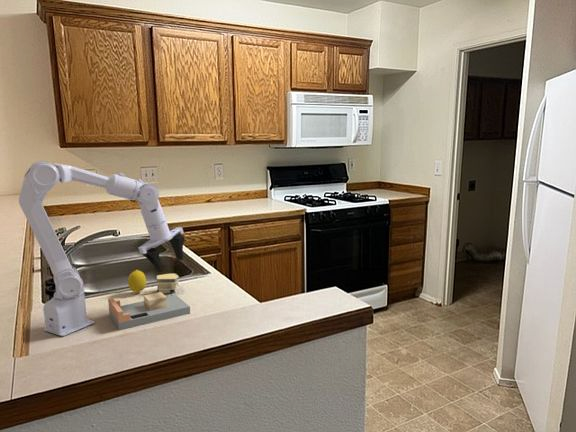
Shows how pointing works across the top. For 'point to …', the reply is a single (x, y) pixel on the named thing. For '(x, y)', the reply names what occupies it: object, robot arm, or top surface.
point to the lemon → (137, 281)
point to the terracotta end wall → (118, 311)
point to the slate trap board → (151, 312)
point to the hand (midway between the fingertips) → (170, 265)
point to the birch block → (155, 301)
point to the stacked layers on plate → (167, 282)
